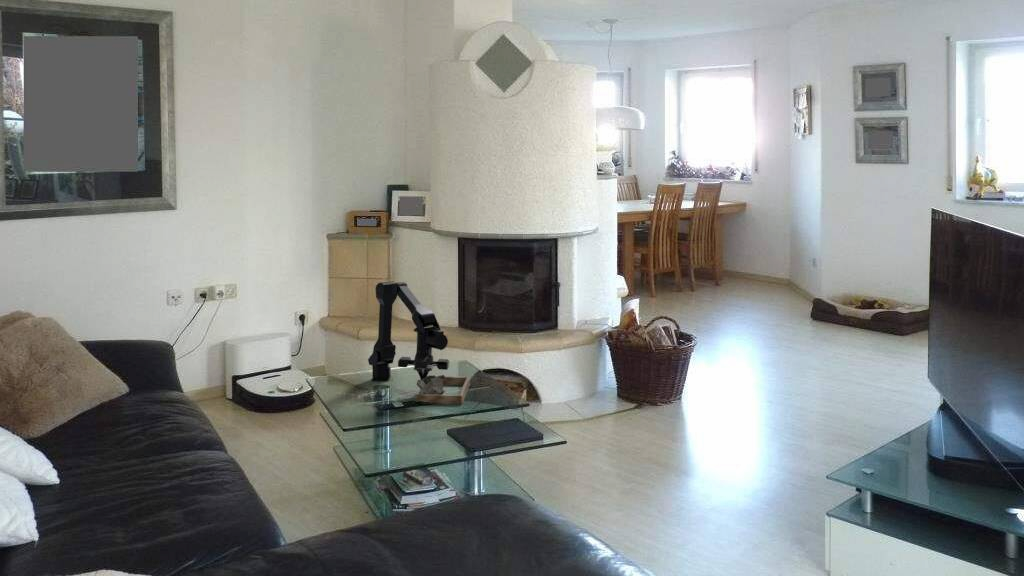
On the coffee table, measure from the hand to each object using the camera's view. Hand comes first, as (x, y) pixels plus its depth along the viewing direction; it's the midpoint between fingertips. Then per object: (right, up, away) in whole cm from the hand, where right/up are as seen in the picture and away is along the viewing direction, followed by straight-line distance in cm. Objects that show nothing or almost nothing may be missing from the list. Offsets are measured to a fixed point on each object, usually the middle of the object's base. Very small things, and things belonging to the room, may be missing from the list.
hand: (423, 385), depth 350 cm
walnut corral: (+7, -3, 0) cm, 8 cm away
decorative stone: (0, 0, -4) cm, 4 cm away
